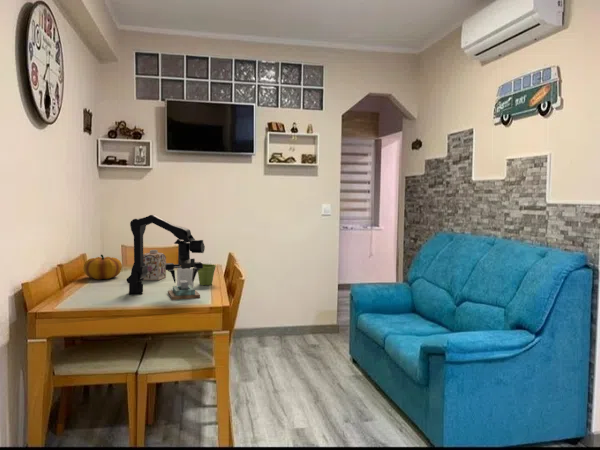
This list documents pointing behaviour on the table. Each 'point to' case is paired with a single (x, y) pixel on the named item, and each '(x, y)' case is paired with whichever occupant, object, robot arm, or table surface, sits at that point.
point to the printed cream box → (185, 275)
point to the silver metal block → (183, 285)
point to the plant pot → (206, 274)
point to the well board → (183, 293)
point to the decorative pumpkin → (102, 267)
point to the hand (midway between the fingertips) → (183, 282)
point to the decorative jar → (155, 265)
